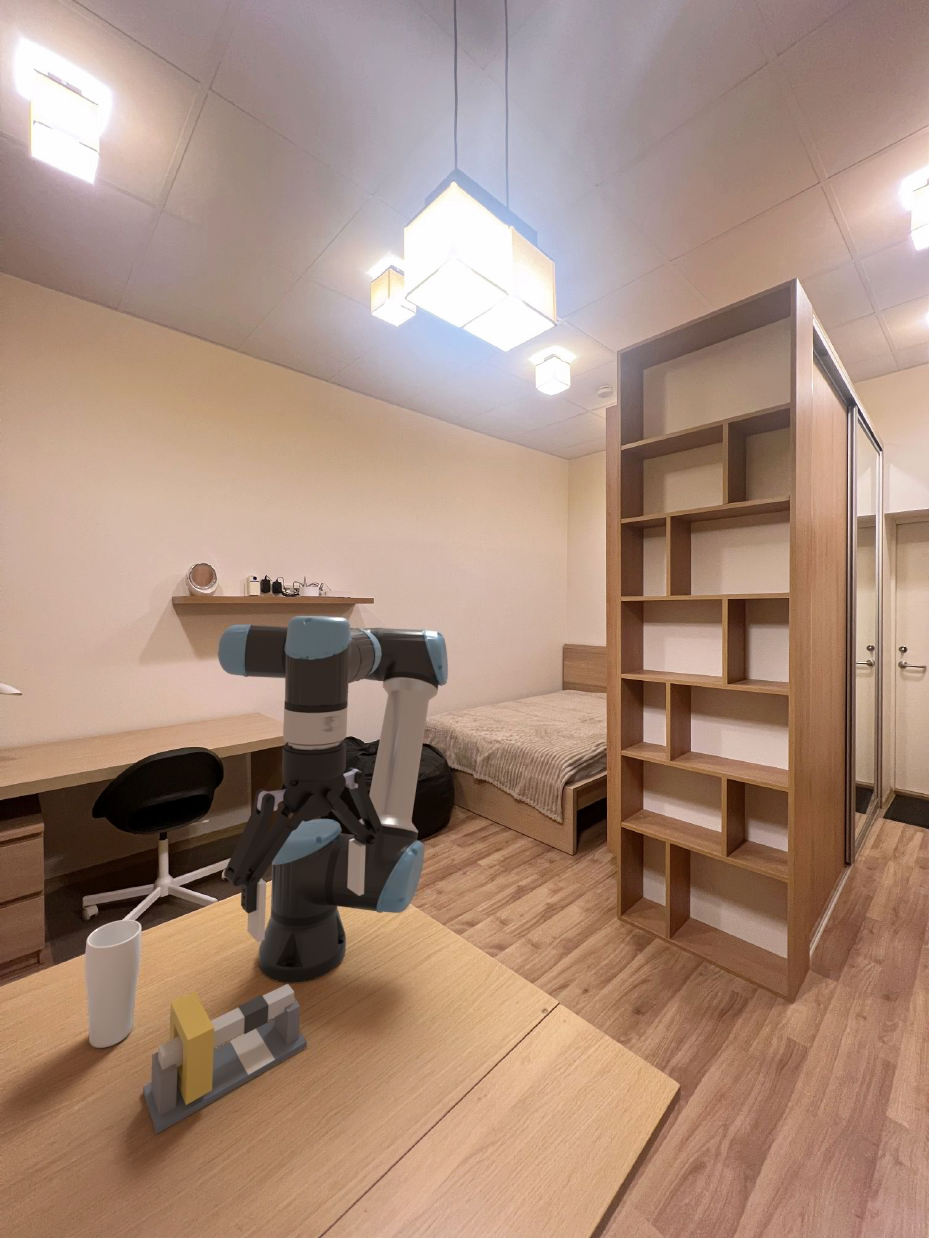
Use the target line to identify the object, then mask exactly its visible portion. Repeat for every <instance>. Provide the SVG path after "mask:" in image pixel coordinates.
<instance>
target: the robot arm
mask: <svg viewBox="0 0 929 1238" xmlns="http://www.w3.org/2000/svg"><path fill="white" fill-rule="evenodd" d="M217 656H218V662H219V665H220V667H221V669H222V670H223V671H225V672H226V673H227V674H229V675H234V676H242V677H245V678H247V677H249V678H250V677H252V678H272V679H273V678H274V679H276V678H277V679H284V680H285V681H284V684H285V685H284V704H283V706H284V707H283V708H284V709H283V725H282V727H283V728H282V729H283V730H282V739H283V740H284V741H285V744H284V745H283V746H282V758H281V759H282V762H281V774H282V784H281V787H280V788H279V789H277V790H271V791H268V790H267V791H266V790H265V789H263V788H260V789H258V790H257V791H256V792H255V795H254V803H253V809H252V811H251V814H250V816H249V818H248V821H247V823H246V824H245V826H244V829H243V831H242V833H241V836H240V838H239V839H238V842H237V843H236V846H235V848H234V850H233V853H232V855H231V856H230V859H229V861H228V864H227V866H226V867H225V869H224V873H223V876H224V877H225V879H227V880H228V882H229V883H231V884H232V885H233V886H234V887H239V886H241V887H240V888H241V889H240V892H241V894H240V895H241V897H240V905H241V908H242V910H243V911H245V912H246V913H247V932H248V934H249V935H250V936H251V937H252V938H253V939H254V940H255V941H256V942H257V943H260V944H259V948H258V967H259V969H260V971H261V973H262V974H264V976H265V977H267V978H269V979H270V980H273V981H275V982H279V983H286V984H297V983H305V982H309V981H312V980H316V979H318V978H320V977H323V976H325V975H327V974H328V973H330V972H332V970H334V969H335V968H336V967H338V965H340V963H341V962H342V960H343V959H344V957H345V954H346V947H347V945H346V943H347V937H346V932H345V928H344V925H343V921H342V919H341V915H340V912H339V908H338V907H342V908H350V909H357V910H363V911H369V912H370V911H371V912H376V913H379V914H381V913H392V914H393V913H394V914H400V913H402V912H404V911H406V910H407V909H408V908H409V906H410V905H411V904H412V901H413V900H414V896H415V894H416V892H417V888H418V886H419V884H420V879H421V877H422V870H423V866H424V858H425V845H424V843H423V842H421V841H420V840H418V835H419V834H418V833H419V830H418V829H417V828H416V826H415V824H414V823H413V822H412V820H413V819H412V817H413V811H414V804H415V798H416V793H417V792H416V790H417V784H418V777H419V770H420V764H421V757H422V751H423V744H424V737H425V730H426V729H425V728H426V723H427V716H428V709H429V702H430V700H432V699H433V698H435V697H436V696H437V695H438V690H439V686H441V687H442V686H445V685H447V683H448V682H447V681H448V678H449V677H448V676H449V675H448V674H449V666H448V665H449V664H448V662H449V661H448V650H447V643H446V640H445V637H444V635H443V634H442V632H440V631H436V630H430V629H425V628H421V629H408V628H404V629H403V628H389V627H388V628H386V627H385V628H384V627H365V628H359V627H357V628H355V627H354V628H353V627H351V624H350V622H349V620H348V619H347V618H345V617H343V616H342V617H341V616H325V615H295V616H293V617H291V619H290V620H289V621H288V623H287V626H281V625H264V624H263V625H261V624H260V625H259V624H252V623H248V624H234V625H231V626H229V627H228V628H226V629H225V630H224V632H223V633H222V635H221V637H220V638H219V642H218V651H217ZM363 680H366V681H367V680H368V681H377V682H382V688H383V689H384V690H385V692H386V694H387V699H386V704H385V709H384V715H383V719H382V720H383V721H382V725H381V733H380V736H379V742H378V747H377V751H376V753H377V754H376V758H375V763H374V770H373V774H372V780H371V785H370V791H369V792H368V789H367V787H366V786H367V784H366V774H365V772H363V771H361V770H359V769H357V768H354V767H349V768H348V769H347V771H346V764H347V763H346V761H347V744H346V742H345V741H344V740H345V739H346V738H347V728H348V727H347V725H348V723H347V722H348V705H349V702H348V700H349V684H351V683H354V682H359V681H363ZM345 771H346V772H345ZM344 772H345V773H344ZM345 787H346V788H348V791H349V793H350V796H351V798H352V799H353V803H354V805H355V807H356V808H357V811H358V814H359V816H360V819H358V818H357V817H356V816H355V815H354V813H353V812H352V811H351V810H350V809H349V806H348V805H347V804H346V803H345V802H344V800H342V799H341V797H340V796H341V794H342V793H343V791H344V790H345ZM279 803H282V804H283V805H282V806H281V807H280V809H279V810H278V807H279V806H278V805H279ZM277 810H278V811H277ZM274 811H277V813H276V815H275V820H274V821H273V823H272V824H271V826H270V823H271V821H272V818H273V815H274ZM330 812H332V813H333V814H334V815H335V817H337V819H338V820H339V821H340V822H341V823H342V824H343V826H345V828H347V829H348V831H349V832H350V833H351V834H350V833H349V834H348V833H342V827H341V824H340V823H339V822H338V821H336V820H334V819H329V818H323V817H326V816H329V813H330ZM290 814H291V815H292V816H291V818H289V817H290ZM317 818H319V819H317ZM269 826H270V827H269ZM268 827H269V828H268ZM267 829H268V831H267ZM271 864H272V865H271ZM270 866H271V890H270V891H271V894H270V897H271V898H270V917H269V919H268V922H267V924H266V904H267V903H266V902H267V882H266V881H265V880H263V878H262V877H264V875H265V873H266V872H267V870H268V869H269V868H270Z"/></svg>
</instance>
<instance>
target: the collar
mask: <svg viewBox="0 0 929 1238" xmlns="http://www.w3.org/2000/svg"><path fill="white" fill-rule="evenodd" d="M169 1016H170V1018H169V1021H170V1022H169V1040H172V1039H174V1038H176V1037H178V1036H180V1039H181V1041H182V1043H183V1064H182V1065H180V1066H178V1067H177V1084H178V1086H179V1089H180V1091H181V1094H182V1097H183V1099H184V1102H185V1104H186V1105H187V1104H189V1103H190V1102H192V1101H194V1100H196V1099H198V1098H199V1097H201V1096H203V1095H205V1094H206V1093H208V1092H210V1091H212V1077H213V1050H214V1049H215V1048H214V1026H213V1024H212V1022H211V1019H210V1017H209V1015H208V1013H207V1011H206V1009H205V1007H204V1006H203V1003H202V1001H201V999H200V997H199V996H198V993H197V992H196V991H194V992H190V993H188V994H186V995H184V996H181V997H179V998H177V999H175V1000H173V1001H171V1002H170V1015H169Z"/></svg>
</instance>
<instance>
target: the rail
mask: <svg viewBox="0 0 929 1238" xmlns="http://www.w3.org/2000/svg"><path fill="white" fill-rule="evenodd" d="M289 984H290V983H286V984H284V985H282V986H280V987H279V988H276V989H274V990H272V991H270V992H268V993H266V994H264V995H263V994H260V995H258V996H256V997H253V998H252V999H249V1000H247V1001H246V1002H242V1003H241V1004H239V1005H238V1007H237V1008H234V1009H233V1010H230V1011H229V1012H226V1013H224V1014H222V1015H220V1016H217V1017H216V1018H213V1019H212V1020H211V1019H210V1020H211V1022H212V1024H213V1026H214V1048H213V1077H212V1091H210V1092H208V1093H206V1094H205V1095H203V1096H201V1097H199V1098H198V1099H196V1100H194V1101H192V1102H190V1103H189V1104H187V1105H186V1104H185V1102H184V1099H183V1097H182V1094H181V1091H180V1089H179V1086H178V1084H177V1067H178V1066H180V1065H182V1064H183V1043H182V1041H181V1039H180V1036H178V1037H176V1038H174V1039H172V1040H170V1039H169V1040H168V1041H165V1042H163V1043H161V1044H159V1045H158V1046H157V1051H156V1052H154V1053H152V1057H151V1078H150V1079H151V1082H149V1083H147V1084H145V1085H143V1086H142V1087H143V1088H142V1093H143V1096H144V1099H145V1103H146V1106H147V1109H148V1112H149V1115H150V1119H151V1121H152V1124H153V1128H154V1131H155V1134H156V1135H158V1134H159V1133H161V1132H163V1131H165V1130H167V1129H168V1128H169V1127H171V1126H174V1125H175V1124H176V1123H179V1122H180V1121H182V1120H184V1119H185V1118H187V1117H188V1116H190V1115H192V1114H194V1113H195V1112H197V1111H199V1110H200V1109H203V1108H205V1107H206V1106H207V1105H209V1104H211V1103H214V1101H216V1100H219V1098H222V1097H223V1096H225V1095H227V1094H228V1093H230V1092H232V1091H234V1090H235V1089H237V1088H239V1087H240V1086H242V1085H244V1084H245V1083H247V1082H249V1081H251V1080H252V1079H254V1078H255V1077H258V1076H259V1075H261V1074H263V1073H264V1072H266V1071H268V1070H269V1069H271V1068H273V1067H274V1066H276V1065H278V1064H280V1063H282V1062H283V1061H285V1060H287V1059H289V1058H291V1057H292V1056H295V1054H298V1053H299V1052H300V1051H302V1050H304V1049H306V1048H307V1045H308V1041H307V1040H306V1039H305V1037H304V1035H303V1034H302V1032H301V1031H300V1022H301V1021H300V1017H301V1016H300V1015H301V1005H300V1004H299V1003H298V1001H297V1000H296V999H295V991H294V989H293V988H292V987H291V986H290V985H289Z"/></svg>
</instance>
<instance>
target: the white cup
mask: <svg viewBox="0 0 929 1238" xmlns="http://www.w3.org/2000/svg"><path fill="white" fill-rule="evenodd" d="M142 933H143V932H142V924H141V923H140V922H139V921H137V920H133V919H122V920H121V919H120V920H116V921H112V922H109V923H106V924H104V925H101V926H99V927H98V928H96V929H94V930H93V931H92V932H90V934H89V935H88V936H87V938H86V941H85V945H86V946H85V953H84V975H85V977H84V978H85V990H86V992H85V993H86V1002H87V1003H86V1005H87V1016H88V1042H89V1044H90V1045H91V1046H92V1047H93V1048H97V1049H104V1048H108V1047H113V1046H115V1045H117V1044H119V1043H120V1042H121V1041H123V1040H125V1038H126V1037H127V1036H129V1034H130V1032H131V1031H132V1029H133V1027H134V1015H135V1014H134V1013H135V1006H136V998H137V997H136V996H137V989H138V982H139V981H138V980H139V973H140V972H139V971H140V967H141V966H140V965H141V958H142V943H143V942H142V941H143V940H142V939H143V938H142V937H143V936H142Z"/></svg>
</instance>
